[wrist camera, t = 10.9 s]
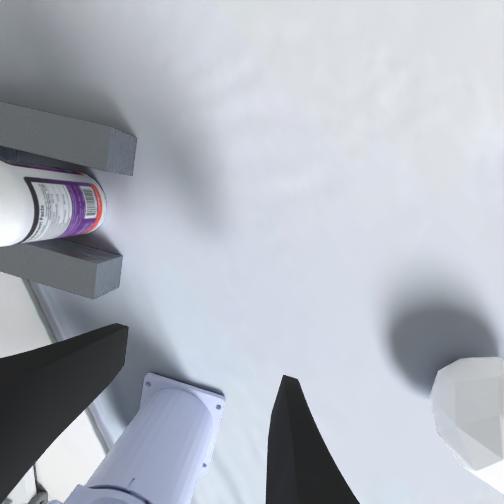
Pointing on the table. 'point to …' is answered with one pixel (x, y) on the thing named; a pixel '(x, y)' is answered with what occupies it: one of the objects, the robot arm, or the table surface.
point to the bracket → (75, 151)
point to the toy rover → (26, 492)
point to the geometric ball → (472, 415)
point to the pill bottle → (46, 203)
